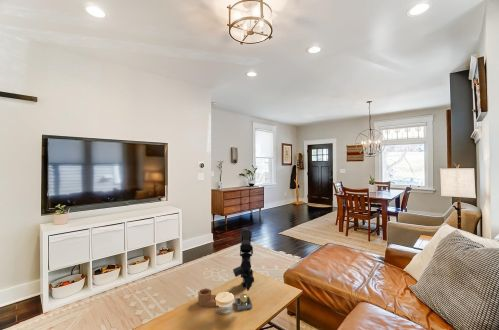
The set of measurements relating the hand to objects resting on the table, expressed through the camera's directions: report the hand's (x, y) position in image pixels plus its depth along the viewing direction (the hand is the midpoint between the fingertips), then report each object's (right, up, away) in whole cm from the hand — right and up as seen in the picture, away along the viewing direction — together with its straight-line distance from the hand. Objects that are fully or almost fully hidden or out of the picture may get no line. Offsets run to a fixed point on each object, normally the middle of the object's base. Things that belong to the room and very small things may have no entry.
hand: (246, 286), depth 150 cm
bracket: (-23, -11, +1) cm, 25 cm away
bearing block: (-2, -11, -2) cm, 11 cm away
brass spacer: (-2, -11, -2) cm, 11 cm away
